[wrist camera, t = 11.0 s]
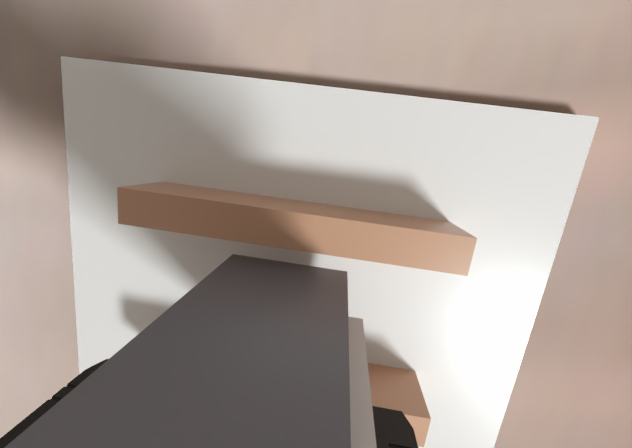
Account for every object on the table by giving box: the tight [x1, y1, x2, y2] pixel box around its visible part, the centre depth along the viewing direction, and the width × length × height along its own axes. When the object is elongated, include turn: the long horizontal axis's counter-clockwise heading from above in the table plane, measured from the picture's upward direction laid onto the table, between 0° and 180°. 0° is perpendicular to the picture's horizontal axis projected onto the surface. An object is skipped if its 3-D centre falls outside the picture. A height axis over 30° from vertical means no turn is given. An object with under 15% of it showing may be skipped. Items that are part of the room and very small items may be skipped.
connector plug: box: [4, 254, 351, 448], centre depth 8 cm, size 5×5×12 cm
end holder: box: [60, 56, 600, 448], centre depth 15 cm, size 20×24×4 cm
